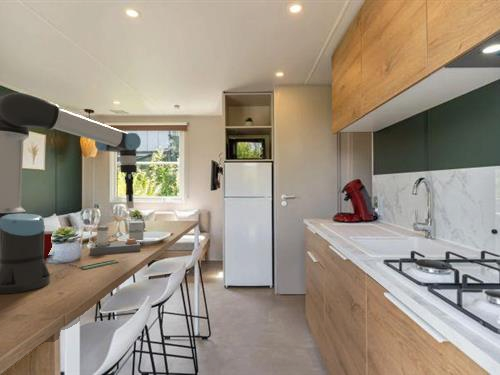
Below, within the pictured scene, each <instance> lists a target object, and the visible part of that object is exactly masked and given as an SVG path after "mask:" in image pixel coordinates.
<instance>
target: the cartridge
mask: <svg viewBox="0 0 500 375" xmlns="http://www.w3.org/2000/svg"><path fill="white" fill-rule="evenodd" d="M96 243H97V247H102V246H108V243H109V226H108V225H107V226H105V225H101V226H96Z"/></svg>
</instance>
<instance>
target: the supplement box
mask: <svg viewBox="0 0 500 375" xmlns="http://www.w3.org/2000/svg"><path fill="white" fill-rule="evenodd" d="M144 222H145V221H144V220H132V221H129V223H128V239H136V240H143V241H144V225H145V223H144Z"/></svg>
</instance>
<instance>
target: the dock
mask: <svg viewBox="0 0 500 375" xmlns="http://www.w3.org/2000/svg"><path fill="white" fill-rule="evenodd" d="M134 252H141V244H140V242H139V241H136V244H127V240H126V241H111V242H108V246H102V247H97V242H96V243H95V242H94V243H92V244H91V246H90V248H89V254H90V256H93V255H95V256H96V255H104V254H106V255H107V254H119V253H134Z"/></svg>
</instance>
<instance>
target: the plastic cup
mask: <svg viewBox="0 0 500 375" xmlns="http://www.w3.org/2000/svg"><path fill="white" fill-rule="evenodd" d="M54 231H55V230H53V231H51V230H50V231H49V230H47V231H46V230H44V260H45V259H48V258H47V257H48V254H49V252H50V250H51V248H52V243H51V236H52V233H53V232H54Z"/></svg>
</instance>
